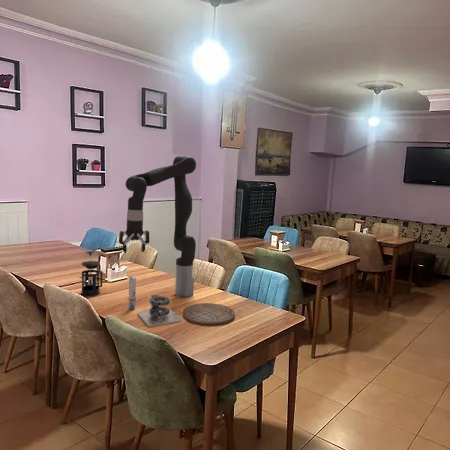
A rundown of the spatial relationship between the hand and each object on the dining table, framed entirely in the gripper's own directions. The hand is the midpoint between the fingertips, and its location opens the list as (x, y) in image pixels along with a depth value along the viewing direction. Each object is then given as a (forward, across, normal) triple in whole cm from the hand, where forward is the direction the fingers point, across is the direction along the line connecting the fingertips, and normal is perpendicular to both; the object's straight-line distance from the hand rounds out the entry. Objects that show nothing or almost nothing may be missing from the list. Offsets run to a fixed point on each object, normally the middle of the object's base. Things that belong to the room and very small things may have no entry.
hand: (133, 252), depth 197 cm
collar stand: (+28, -9, +16) cm, 34 cm away
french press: (+29, +15, -29) cm, 43 cm away
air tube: (+28, 0, 0) cm, 28 cm away
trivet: (+28, -32, +21) cm, 48 cm away
